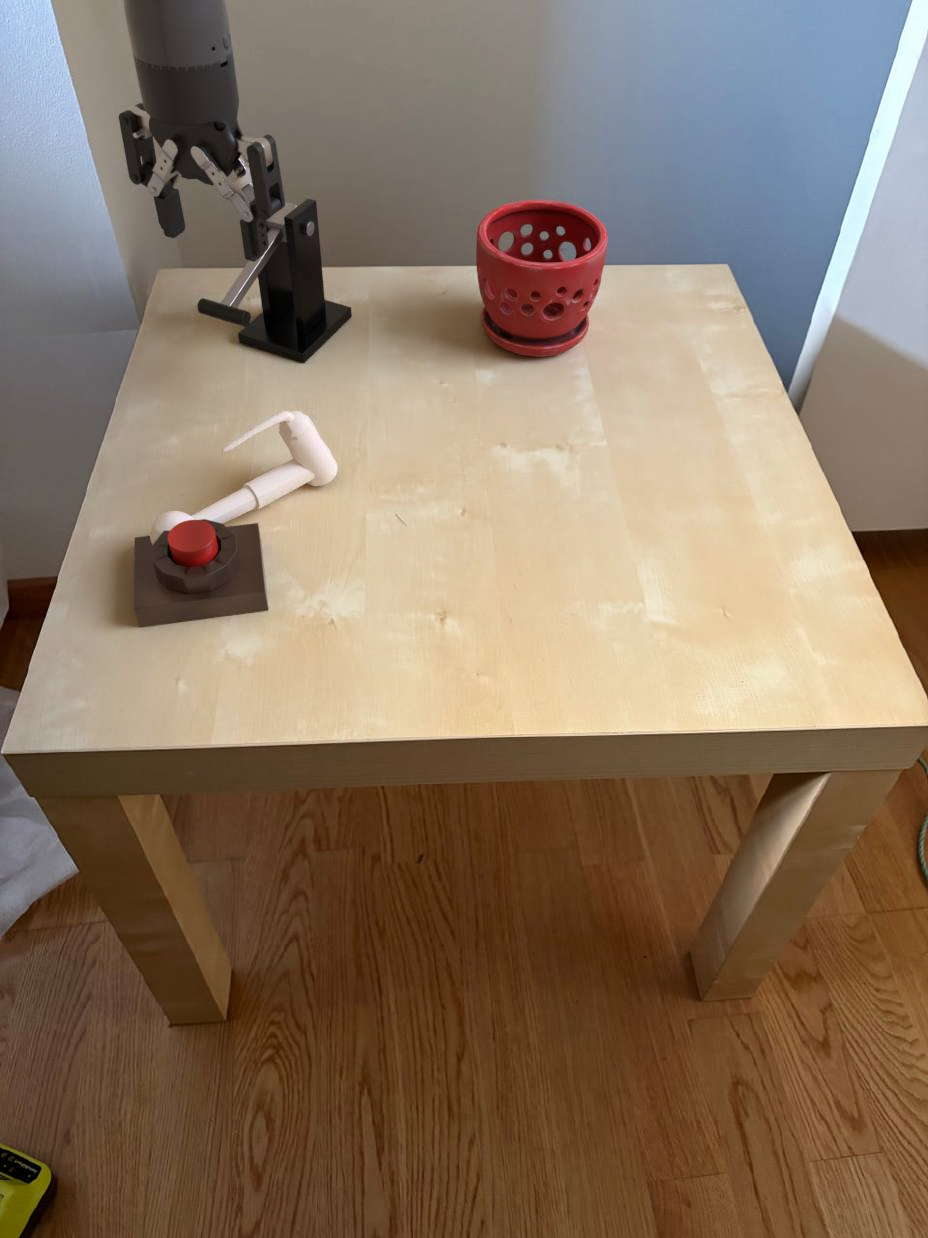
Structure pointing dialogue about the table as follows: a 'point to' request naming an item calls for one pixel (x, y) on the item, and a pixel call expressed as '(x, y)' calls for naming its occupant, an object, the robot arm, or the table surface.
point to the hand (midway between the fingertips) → (215, 245)
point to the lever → (247, 276)
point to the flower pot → (539, 276)
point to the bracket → (295, 294)
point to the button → (193, 543)
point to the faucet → (305, 467)
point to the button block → (200, 578)
